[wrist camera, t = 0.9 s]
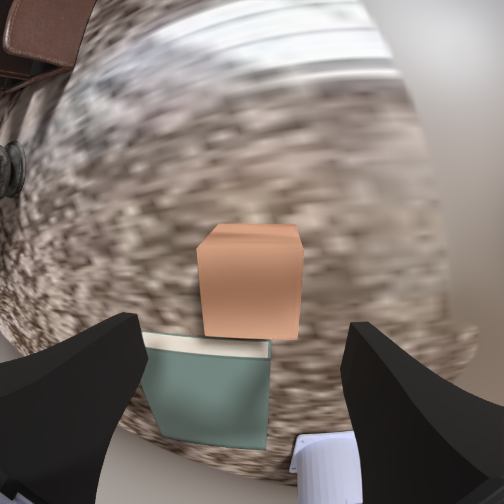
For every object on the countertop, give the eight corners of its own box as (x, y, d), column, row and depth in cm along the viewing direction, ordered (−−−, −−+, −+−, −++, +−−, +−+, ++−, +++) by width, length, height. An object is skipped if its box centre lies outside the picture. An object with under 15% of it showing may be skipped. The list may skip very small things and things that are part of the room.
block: (292, 293, 17) (297, 339, 12) (222, 291, 18) (205, 335, 13) (294, 224, 16) (303, 250, 11) (219, 223, 16) (196, 248, 11)
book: (267, 430, 22) (265, 450, 20) (169, 419, 23) (163, 437, 21) (271, 338, 19) (270, 360, 16) (142, 328, 19) (128, 346, 17)
